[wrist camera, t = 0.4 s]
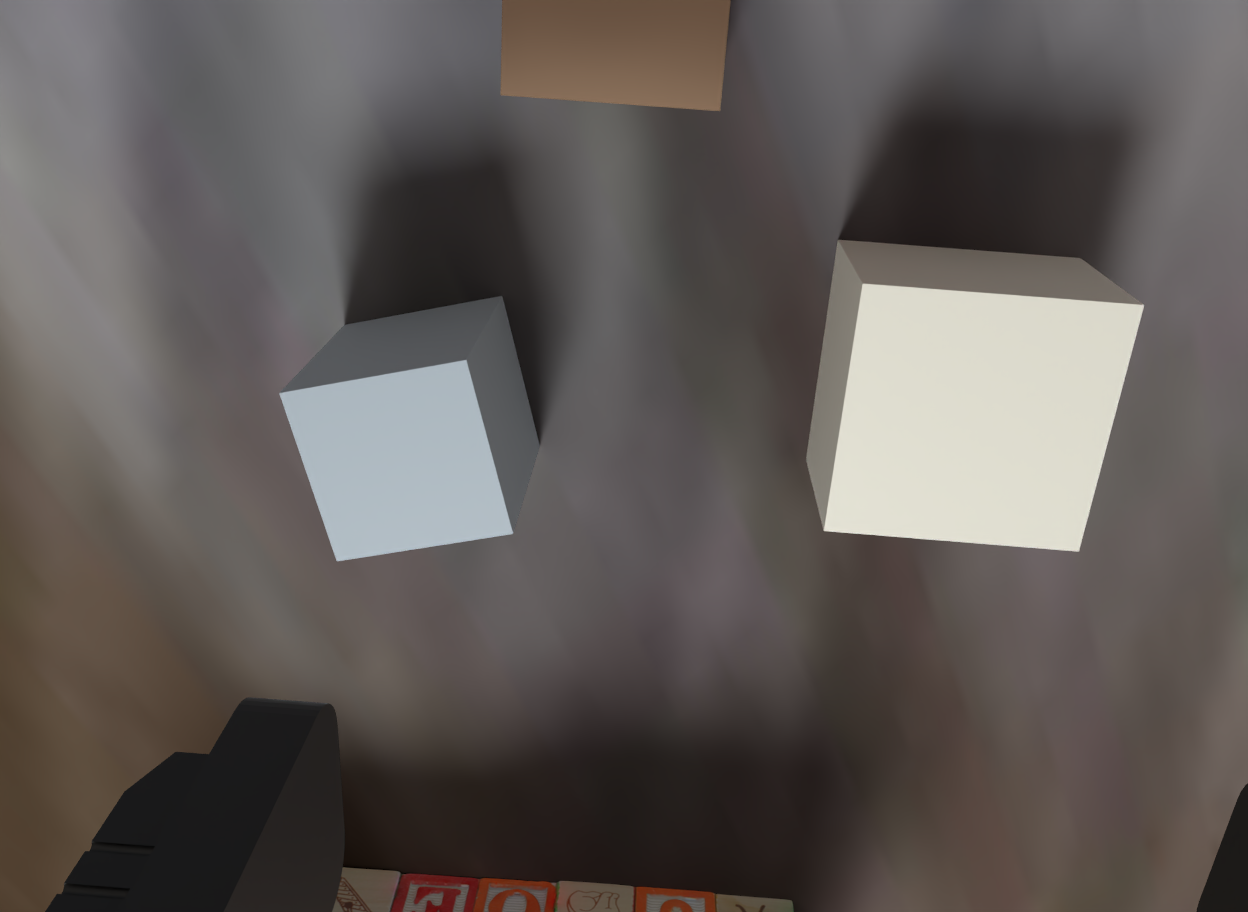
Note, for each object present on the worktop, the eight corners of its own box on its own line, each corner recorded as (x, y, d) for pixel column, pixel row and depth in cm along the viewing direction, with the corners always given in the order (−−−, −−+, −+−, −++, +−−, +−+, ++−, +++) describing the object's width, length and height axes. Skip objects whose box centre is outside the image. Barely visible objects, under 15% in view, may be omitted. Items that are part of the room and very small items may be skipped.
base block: (836, 238, 32) (862, 283, 28) (1078, 256, 32) (1144, 304, 28) (805, 457, 35) (823, 530, 31) (1027, 474, 35) (1078, 551, 30)
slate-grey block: (345, 324, 34) (279, 392, 28) (502, 295, 33) (466, 359, 28) (390, 470, 36) (336, 561, 30) (540, 445, 35) (513, 533, 30)
